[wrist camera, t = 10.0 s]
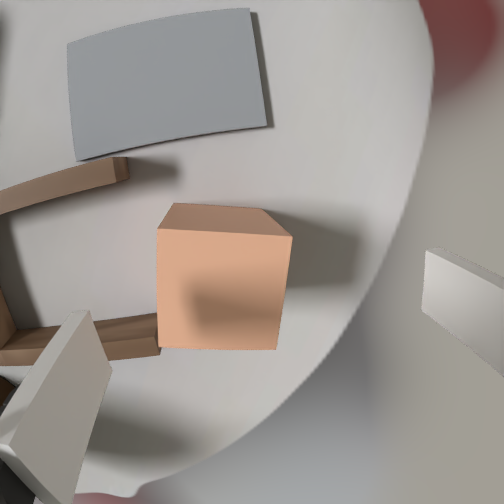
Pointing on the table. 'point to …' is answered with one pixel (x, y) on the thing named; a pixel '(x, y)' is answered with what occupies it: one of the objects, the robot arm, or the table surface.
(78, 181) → the bay
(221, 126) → the mat
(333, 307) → the table surface
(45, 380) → the robot arm
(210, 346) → the block
